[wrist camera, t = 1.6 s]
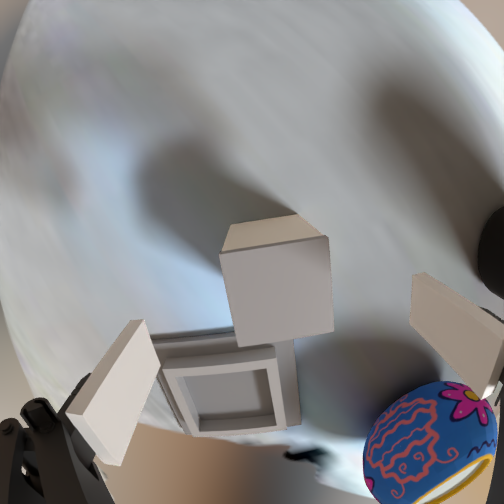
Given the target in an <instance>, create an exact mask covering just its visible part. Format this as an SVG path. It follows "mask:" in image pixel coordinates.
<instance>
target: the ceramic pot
mask: <svg viewBox="0 0 504 504" xmlns="http://www.w3.org/2000/svg"><path fill="white" fill-rule="evenodd" d="M496 446H497V423H496V418H495V415H494V413H493V411H492V408H491V406H490V404H489V403H488V401H487V400H486V399H485V398H484V399H482V400H480V398H479V397H478V396H477V395H476V394H475V393H474V392H473V391H472V389H471V388H470V387H468V386H466V385H464V384H460V383H456V382H450V381H438V382H433V383H430V384H427V385H424V386H420V387H418V388H417V389H415V390H413V391H411V392H409V393H407V394H405V395H404V396H402V397H401V398H400V399H398V400H397V401H395V402H394V403H393V404H392V405H391V406H389V407H388V408H387V409H386V410H385V411H384V412H383V413H382V414H381V415H380V416H379V418H378V419H377V420H376V421H375V423H374V425H373V427H372V429H371V430H370V432H369V434H368V436H367V439H366V442H365V446H364V451H363V474H364V480H365V483H366V485H367V487H368V489H369V490H370V492H371V493H372V495H373V496H374V498H375V499H376V500H377V501H378V502H379V503H380V504H439V503H441V502H443V501H445V500H446V499H448V498H450V497H451V496H453V495H455V494H456V493H458V492H459V491H461V490H462V489H463V488H465V487H466V486H467V485H468V484H470V483H471V482H472V481H473V480H474V479H475V478H476V477H477V476H479V475H480V474H481V473H482V472H483V471H484V469H485V468H486V467H487V466H488V465H489V463H490V462H491V460H492V459H493V457H494V454H495V450H496Z"/></svg>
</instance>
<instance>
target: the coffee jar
mask: <svg viewBox="0 0 504 504" xmlns="http://www.w3.org/2000/svg"><path fill="white" fill-rule="evenodd" d="M478 265H479V271H480V274H481V277H482V279H483V282H484V284H485V286H486V287H487V288H488V289H489V290H490V291H491V292H492V293H494V294H496V295H497V296H499V297H500V298H502V299H504V207H502V208H501V209H499V210H498V211H497V212H495V213H494V214H493V215H492V216H491V218H490V219H489V220H488V222H487V224H486V226H485V228H484V230H483V233H482V237H481V240H480V244H479V252H478Z"/></svg>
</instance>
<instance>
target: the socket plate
mask: <svg viewBox="0 0 504 504" xmlns="http://www.w3.org/2000/svg"><path fill="white" fill-rule="evenodd" d="M151 341H152V344H153V346H154V349H155V352H156V354H157V357H158V360H159V362H160V365H161V366H160V368H159V371H158V373H157V376H158V378H159V380H160V382H161V385H162V387H163V389H164V391H165V394H166V396H167V398H168V400H169V402H170V404H171V406H172V408H173V410H174V413H175V415H176V417H177V419H178V421H179V423H180V424H181V426H182V428H183V430H184V432H185V434H192V436H193V437H213V436H232V435H245V434H256V433H265V432H273V431H280V430H287V427H289V426H295V425H301V413H300V402H299V391H298V381H297V371H296V361H295V352H294V343H293V339H291V340H285V341H279V342H273V343H266V344H259V345H252V346H245V347H238V343H237V339H236V334H235V332H229V333H221V334H212V335H203V336H193V337H183V338H172V339H159V340H151Z"/></svg>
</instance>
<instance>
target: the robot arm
mask: <svg viewBox="0 0 504 504" xmlns="http://www.w3.org/2000/svg"><path fill="white" fill-rule="evenodd" d="M409 324H410V325H411V326H412V327H413V328H414V329H415V330H416V331H417V332H418V333H419V334H420V335H421V336H422V337H423V338H424V339H425V340H426V341H427V342H428V343H429V344H430V345H431V346H432V347H433V348H434V349H435V350H436V351H437V352H438V354H439V355H440V356H441V357H442V358H443V359H444V360H445V361H446V362H447V363H448V364H449V365H450V366H451V367H452V368H453V370H454V371H455V372H456V373H457V374H458V375H459V376H460V377H461V378H462V379H463V380H464V382H465V383H466V384H467V385H468V386H469V387H470V388H471V389H472V391H473V392H474V393H475V394H476V395H477V396H478V397H479V398H480V400H482V399H484V398H485V397H487V396H489V395H490V394H492V393H494V391H495V388H496V386H497V384H498V381H500V382H501V383H502V384H503V386H502V388H501V391H500V393H499V395H498V397H497V399H496V402H495V405H494V406H497V404H498V402H499V401H500V423H499V434H498V444H497V451H496V458H495V465H494V471H493V475H492V480H491V485H490V490H489V494H488V498H487V501H486V504H504V320H501V318H499V317H498V316H495V314H494V313H492V312H491V311H489V310H487V309H485V308H482V307H479V306H477V305H475V304H474V303H472V302H471V301H469V300H468V299H466V298H465V297H463V296H461V295H460V294H458V293H457V292H455V291H454V290H452V289H451V288H449V287H447V286H446V285H444V284H443V283H441V282H439V281H438V280H436V279H435V278H433V277H431V276H430V275H428V274H426V273H425V272H423V273H419V274H415V275H412V294H411V309H410V320H409ZM160 366H161V365H160V362H159V360H158V357H157V354H156V352H155V349H154V346H153V344H152V341H151V338H150V335H149V332H148V330H147V327H146V324H145V321H144V319H141V320H130V322H129V323H128V324H127V326H126V327H125V328H124V330H123V331H122V332H121V334H120V335H119V336H118V338H117V339H116V340H115V342H114V343H113V344H112V346H111V347H110V348H109V350H108V351H107V353H106V354H105V355H104V357H103V358H102V359H101V361H100V362H99V364H98V365H97V366H96V368H95V369H94V371H93V372H92V373H89V374H87V375H86V376H85V377H84V378H82V379H81V380H80V382H79V383H78V384H77V386H76V387H75V388H76V389H74V390H73V391H72V393H71V395H70V396H69V397H68V399H67V400H66V401H65V403H64V404H63V406H62V407H61V409H60V410H59V412H58V413H56V412H55V410H54V409H53V407H52V406H51V404H50V403H49V401H48V400H47V399H45V398H40V397H39V398H35V399H33V400H30V401H28V402H27V403H26V404H25V405H24V406H23V408H22V409H21V412H20V415H21V417H22V418H23V419H24V421H25V422H26V423H27V425H28V426H29V428H23V427H22V426H21V424H20V423H19V421H18V420H17V419H15V418H8V419H5V420H4V421H2V422H1V423H0V504H115V503H114V501H113V499H112V497H111V495H110V493H109V491H108V489H107V487H106V485H105V483H104V481H103V479H102V476H101V474H100V472H99V470H98V467H97V465H96V464H95V463H94V462H93V459H94V456H95V454H96V455H97V456H98V457H99V459H100V460H101V461H102V462H103V463H105V464H110V465H116V466H121V463H122V461H123V458H124V455H125V453H126V450H127V447H128V445H129V442H130V440H131V437H132V434H133V432H134V429H135V427H136V424H137V422H138V419H139V417H140V414H141V412H142V409H143V407H144V404H145V402H146V399H147V397H148V395H149V392H150V390H151V387H152V385H153V382H154V380H155V378H156V375H157V373H158V371H159V368H160ZM22 466H23V467H24V469H25V470H26V475H24V474H23V473H22V470H21V468H22Z"/></svg>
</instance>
